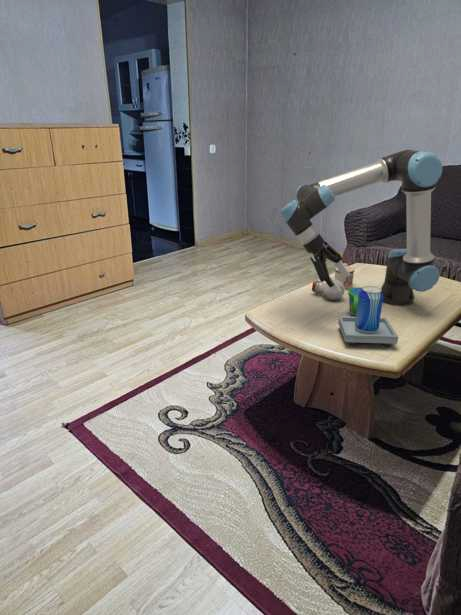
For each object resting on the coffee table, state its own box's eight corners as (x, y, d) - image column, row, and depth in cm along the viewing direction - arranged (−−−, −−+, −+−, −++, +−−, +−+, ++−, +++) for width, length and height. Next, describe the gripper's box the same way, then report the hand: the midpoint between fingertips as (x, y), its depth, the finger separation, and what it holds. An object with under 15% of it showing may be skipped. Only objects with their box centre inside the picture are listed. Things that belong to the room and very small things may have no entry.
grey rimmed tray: (384, 329, 168) (386, 317, 166) (396, 349, 154) (398, 336, 152) (337, 328, 170) (338, 316, 167) (344, 347, 155) (346, 335, 153)
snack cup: (363, 324, 173) (366, 300, 169) (338, 317, 179) (341, 294, 175) (378, 311, 184) (381, 289, 180) (354, 305, 190) (357, 283, 186)
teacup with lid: (344, 291, 206) (347, 267, 202) (329, 286, 212) (331, 263, 208) (359, 285, 213) (362, 262, 209) (344, 280, 220) (346, 258, 215)
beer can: (351, 325, 164) (356, 285, 157) (373, 324, 164) (378, 284, 158) (359, 335, 156) (364, 293, 150) (381, 334, 157) (388, 293, 150)
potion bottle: (341, 306, 193) (314, 300, 204) (351, 289, 196) (324, 285, 207) (334, 293, 188) (306, 287, 198) (344, 276, 191) (317, 272, 201)
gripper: (313, 231, 175) (342, 273, 178) (291, 257, 156) (325, 303, 160) (328, 222, 170) (358, 265, 173) (307, 247, 151) (342, 295, 155)
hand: (342, 283), depth 166 cm, fingers open, 13 cm apart
